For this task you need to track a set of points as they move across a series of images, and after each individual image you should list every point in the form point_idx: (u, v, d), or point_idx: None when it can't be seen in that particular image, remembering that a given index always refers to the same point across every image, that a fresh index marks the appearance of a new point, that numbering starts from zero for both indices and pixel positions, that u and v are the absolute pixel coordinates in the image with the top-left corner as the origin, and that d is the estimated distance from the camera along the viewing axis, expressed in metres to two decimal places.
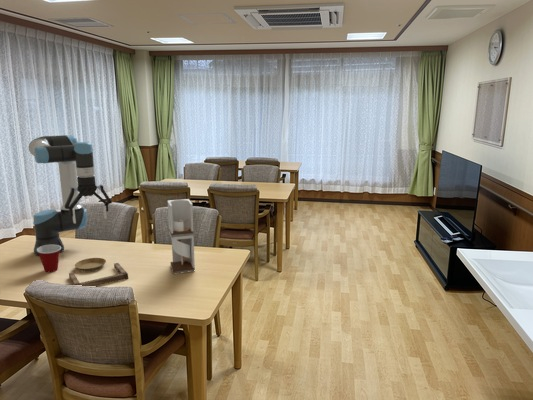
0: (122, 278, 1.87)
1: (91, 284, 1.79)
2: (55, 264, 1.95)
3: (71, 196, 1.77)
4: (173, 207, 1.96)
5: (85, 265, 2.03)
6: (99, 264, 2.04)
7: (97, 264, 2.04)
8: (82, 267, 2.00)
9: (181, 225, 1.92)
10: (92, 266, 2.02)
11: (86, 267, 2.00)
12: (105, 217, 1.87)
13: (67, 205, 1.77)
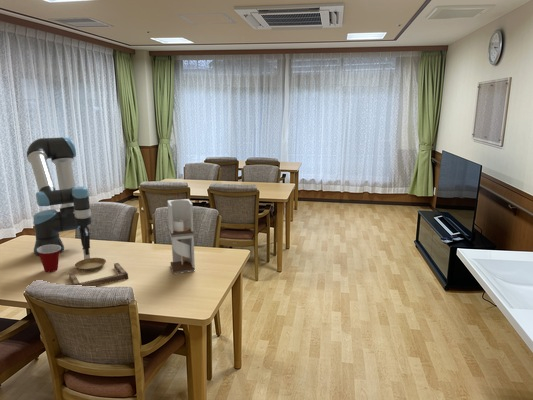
0: (122, 278, 1.87)
1: (91, 284, 1.79)
2: (55, 264, 1.95)
3: None
4: (173, 207, 1.96)
5: (85, 265, 2.03)
6: (99, 264, 2.04)
7: (97, 264, 2.04)
8: (82, 267, 2.00)
9: (181, 225, 1.92)
10: (92, 266, 2.01)
11: (86, 267, 2.00)
12: None
13: None
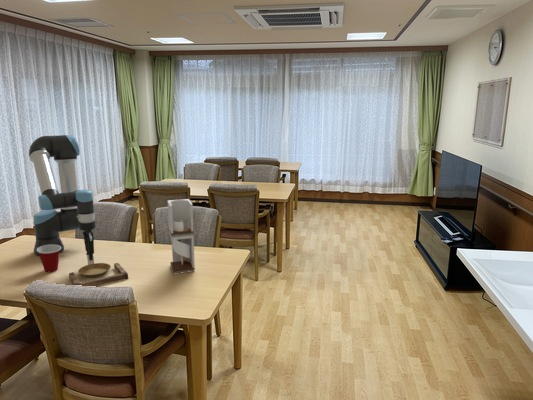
0: (122, 278, 1.87)
1: (91, 284, 1.79)
2: (55, 264, 1.95)
3: (84, 239, 2.00)
4: (173, 207, 1.96)
5: (89, 271, 1.96)
6: (103, 270, 1.97)
7: (101, 270, 1.97)
8: (86, 273, 1.93)
9: (181, 225, 1.92)
10: (96, 272, 1.94)
11: (90, 273, 1.93)
12: (88, 264, 1.99)
13: (85, 247, 2.00)
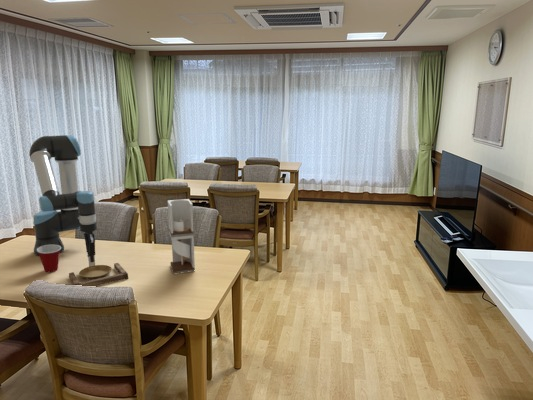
0: (122, 278, 1.87)
1: (91, 284, 1.79)
2: (55, 264, 1.95)
3: (85, 240, 1.98)
4: (173, 207, 1.96)
5: (90, 273, 1.94)
6: (104, 272, 1.95)
7: (102, 272, 1.95)
8: (87, 275, 1.91)
9: (181, 225, 1.92)
10: (97, 274, 1.93)
11: (91, 275, 1.91)
12: (89, 266, 1.97)
13: (86, 249, 1.98)
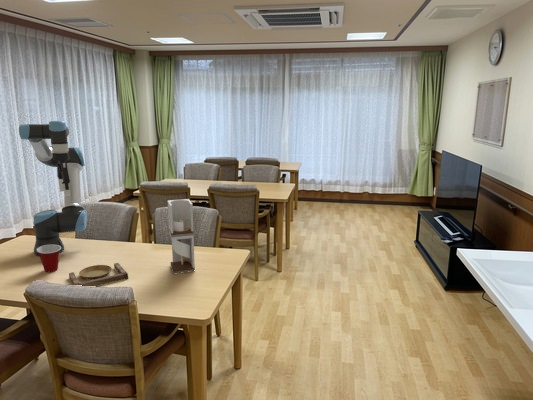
0: (122, 278, 1.87)
1: (91, 284, 1.79)
2: (55, 264, 1.95)
3: None
4: (173, 207, 1.96)
5: (90, 273, 1.94)
6: (104, 272, 1.95)
7: (102, 272, 1.95)
8: (87, 275, 1.91)
9: (181, 225, 1.92)
10: (97, 274, 1.92)
11: (91, 275, 1.91)
12: (64, 194, 1.95)
13: (57, 174, 2.06)
